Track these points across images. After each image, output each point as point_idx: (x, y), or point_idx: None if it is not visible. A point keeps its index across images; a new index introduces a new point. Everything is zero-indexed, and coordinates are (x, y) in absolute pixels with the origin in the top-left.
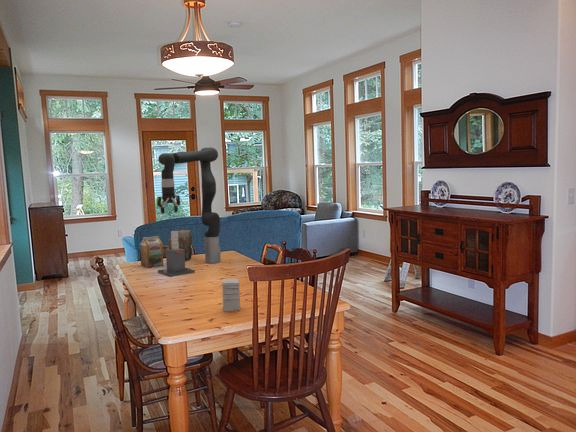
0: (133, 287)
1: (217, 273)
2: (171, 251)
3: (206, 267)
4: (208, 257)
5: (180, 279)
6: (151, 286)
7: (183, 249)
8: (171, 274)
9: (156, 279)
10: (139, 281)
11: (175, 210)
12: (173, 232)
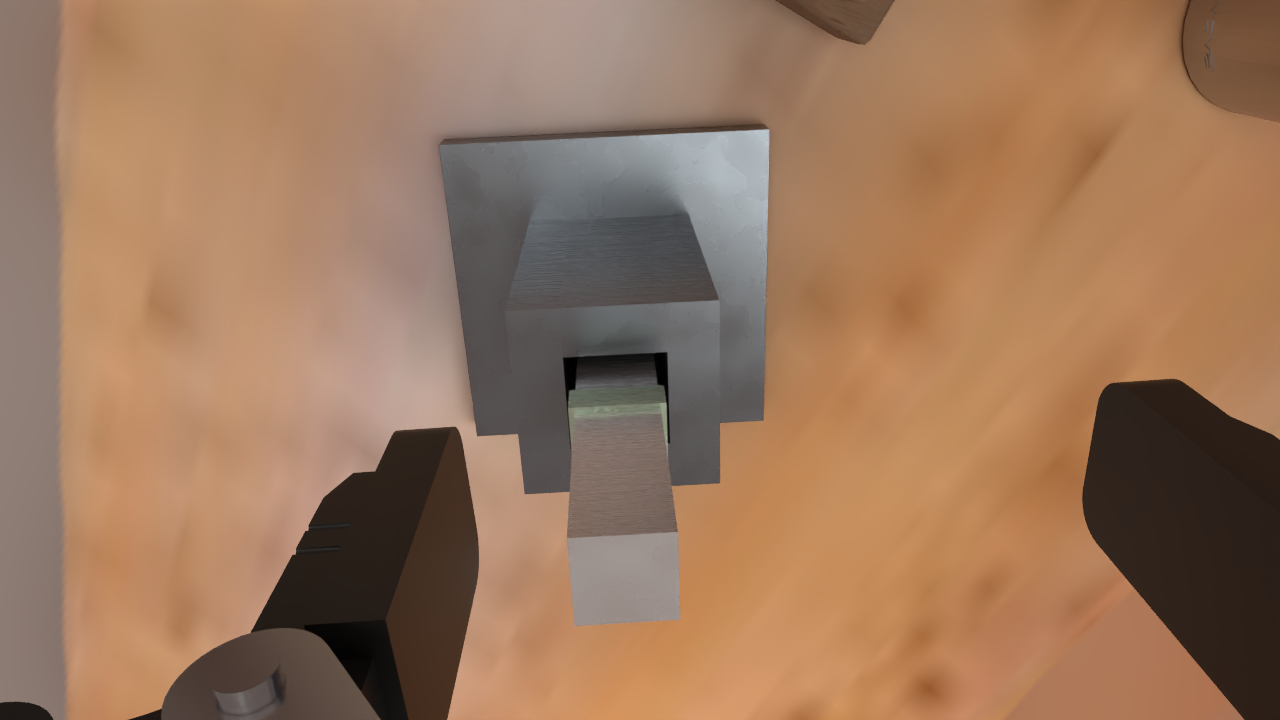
0: (71, 574)
1: (889, 564)
2: (522, 469)
3: (1005, 257)
4: (1236, 72)
5: (516, 563)
6: (220, 629)
7: (711, 470)
8: (492, 433)
9: (330, 433)
10: (160, 407)
11: (1133, 543)
12: (577, 614)
